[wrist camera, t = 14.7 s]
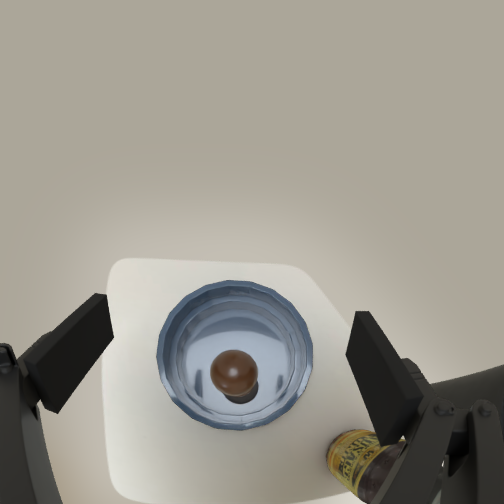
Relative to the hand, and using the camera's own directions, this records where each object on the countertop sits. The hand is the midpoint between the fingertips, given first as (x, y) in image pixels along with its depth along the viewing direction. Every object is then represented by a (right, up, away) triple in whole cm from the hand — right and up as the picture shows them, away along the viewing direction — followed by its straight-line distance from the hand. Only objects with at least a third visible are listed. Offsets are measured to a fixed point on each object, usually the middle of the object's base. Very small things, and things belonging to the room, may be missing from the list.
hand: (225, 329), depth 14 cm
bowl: (0, -8, +16) cm, 18 cm away
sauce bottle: (+12, -18, +11) cm, 24 cm away
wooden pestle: (0, -10, +14) cm, 17 cm away
